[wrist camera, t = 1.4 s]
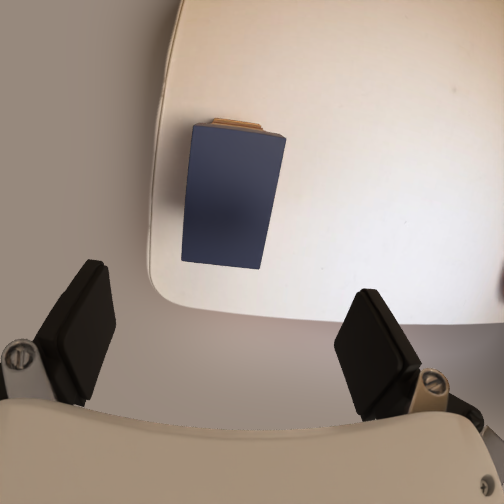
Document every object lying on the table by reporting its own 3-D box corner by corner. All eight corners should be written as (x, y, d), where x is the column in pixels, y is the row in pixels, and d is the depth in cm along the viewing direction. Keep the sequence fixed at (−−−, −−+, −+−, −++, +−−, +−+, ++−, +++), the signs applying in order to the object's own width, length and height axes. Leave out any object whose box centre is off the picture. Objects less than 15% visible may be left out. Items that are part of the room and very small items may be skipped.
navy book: (256, 253, 24) (259, 270, 22) (185, 245, 23) (181, 261, 21) (280, 134, 20) (286, 138, 17) (197, 122, 19) (193, 125, 17)
